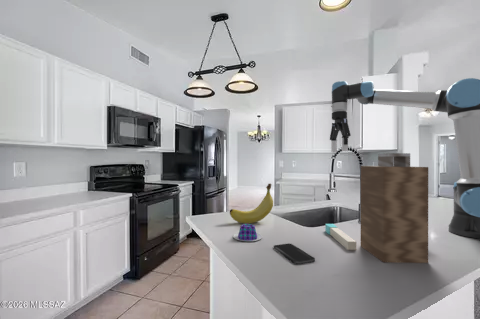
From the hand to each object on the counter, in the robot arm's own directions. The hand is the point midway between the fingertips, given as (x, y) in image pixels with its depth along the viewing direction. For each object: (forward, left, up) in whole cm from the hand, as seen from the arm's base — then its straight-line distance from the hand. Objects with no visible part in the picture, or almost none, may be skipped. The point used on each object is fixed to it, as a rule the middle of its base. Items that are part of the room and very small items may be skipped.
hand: (339, 151), depth 123 cm
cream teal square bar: (+12, +29, -37) cm, 48 cm away
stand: (0, +43, -37) cm, 57 cm away
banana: (+46, +4, -37) cm, 59 cm away
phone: (+34, +44, -37) cm, 67 cm away
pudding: (+49, +27, -37) cm, 67 cm away
